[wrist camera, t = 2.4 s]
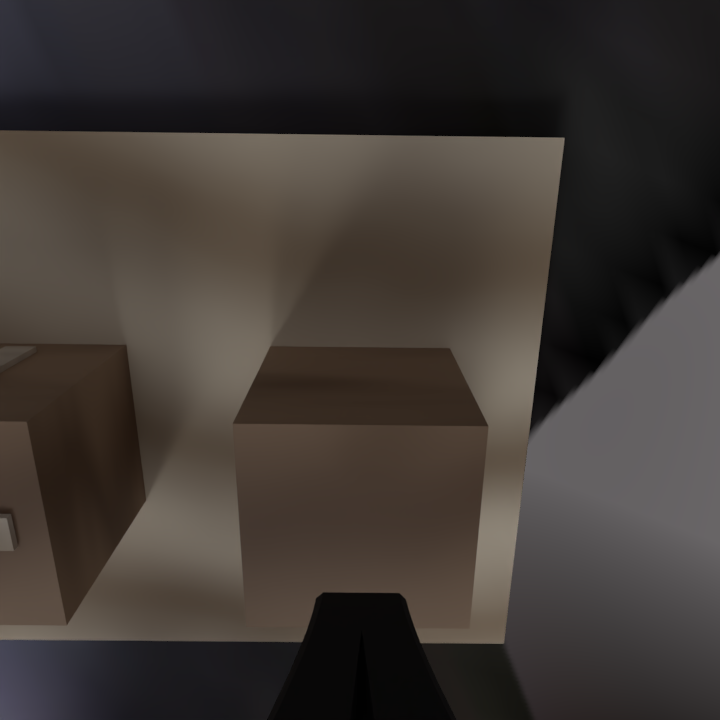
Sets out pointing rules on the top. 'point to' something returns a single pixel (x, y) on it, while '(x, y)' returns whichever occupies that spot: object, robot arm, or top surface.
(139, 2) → the top surface
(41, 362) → the one bar block
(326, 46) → the top surface
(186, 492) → the board
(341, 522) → the plain block
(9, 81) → the top surface
